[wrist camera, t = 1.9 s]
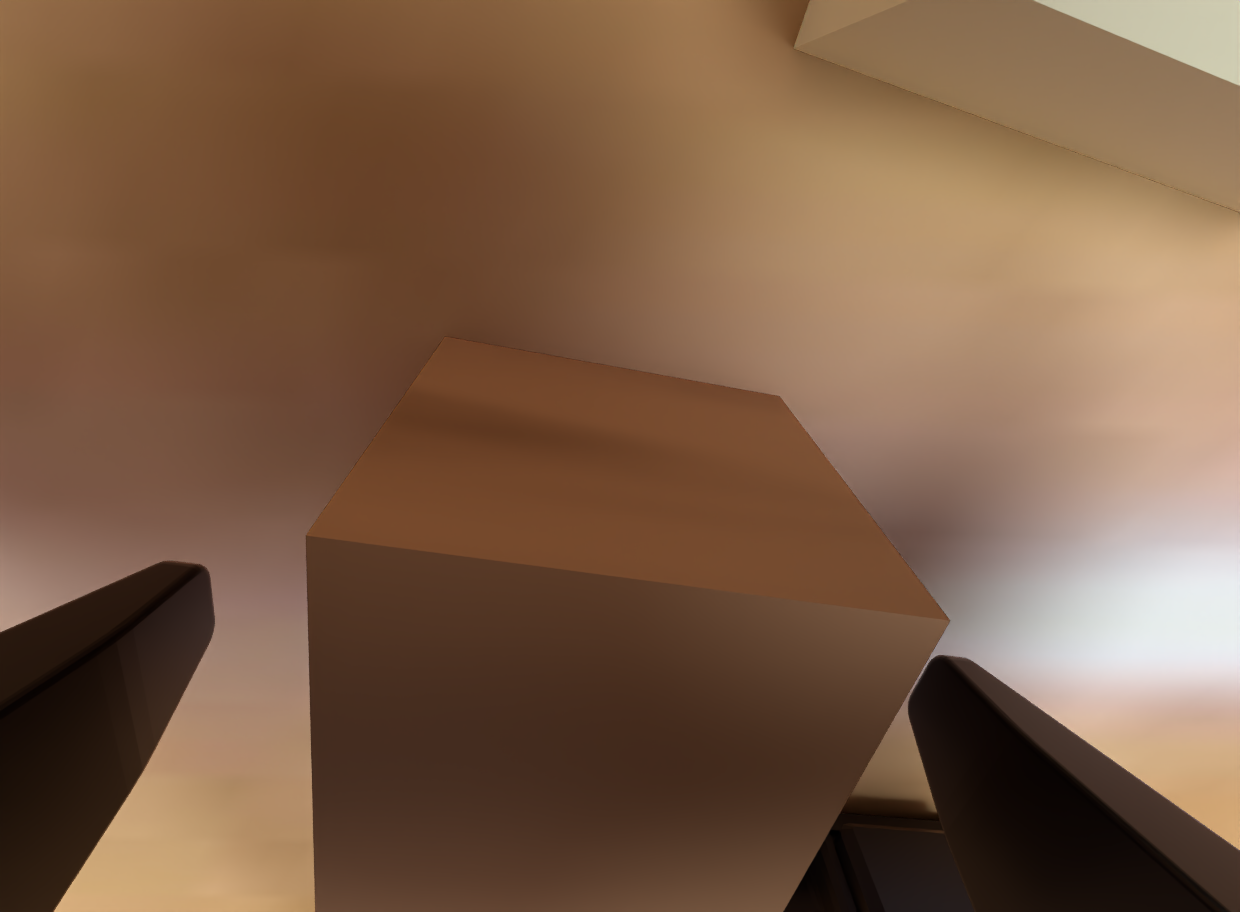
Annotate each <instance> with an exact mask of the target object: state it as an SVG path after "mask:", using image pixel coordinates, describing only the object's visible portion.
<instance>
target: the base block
mask: <svg viewBox="0 0 1240 912" xmlns="http://www.w3.org/2000/svg"><path fill="white" fill-rule="evenodd" d="M793 49H796V50H799V51H801V52H804V53H807V54H810V55H812V56H815V57H818V58H820V59H823V60H826V61H829V62H831V63H834V64H837V65H840V66H842V67H845V68H848V69H850V70H853V71H856V72H859V73H861V74H864V75H867V76H869V77H872V78H875V79H878V80H880V81H883V82H886V83H889V84H891V85H894V86H897V87H899V88H902V89H905V90H908V91H910V92H913V93H916V94H918V95H921V96H924V97H927V98H929V99H932V100H935V101H938V102H940V103H943V104H946V105H948V106H951V107H954V108H957V109H959V110H962V111H965V112H967V113H970V114H973V115H976V116H978V117H981V118H984V119H987V120H989V121H992V122H995V123H997V124H1000V125H1003V126H1006V127H1008V128H1011V129H1014V130H1016V131H1019V132H1022V133H1025V134H1027V135H1030V136H1033V137H1036V138H1038V139H1041V140H1044V141H1046V142H1049V143H1052V144H1055V145H1057V146H1060V147H1063V148H1065V149H1068V150H1071V151H1074V152H1076V153H1079V154H1082V155H1085V156H1087V157H1090V158H1093V159H1095V160H1098V161H1101V162H1104V163H1106V164H1109V165H1112V166H1115V167H1117V168H1120V169H1123V170H1125V171H1128V172H1131V173H1134V174H1136V175H1139V176H1142V177H1144V178H1147V179H1150V180H1153V181H1155V182H1158V183H1161V184H1164V185H1166V186H1169V187H1172V188H1174V189H1177V190H1180V191H1183V192H1185V193H1188V194H1191V195H1193V196H1196V197H1199V198H1202V199H1204V200H1207V201H1210V202H1213V203H1215V204H1218V205H1221V206H1223V207H1226V208H1229V209H1232V210H1234V211H1237V212H1240V0H810V1H809V4H808V7H807V10H806V13H805V16H804V19H803V21H802V24H801V27H800V30H799V33H798V36H797V39H796V42H795V45H794V48H793Z"/></svg>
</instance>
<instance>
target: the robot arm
mask: <svg viewBox="0 0 1240 912" xmlns="http://www.w3.org/2000/svg"><path fill="white" fill-rule="evenodd" d="M214 626H215V616H214V607H213V598H212V589H211V580H210V574H209V571H208V570H207V568H206V567H205V566H203V565H200V564H194V563H186V562H178V561H163V562H160V563H157V564H155V565H153V566H150V567H148V568H146V569H143V570H141V571H139V572H137V573H134V574H132V575H130V576H128V577H125V578H123V579H121V580H118V581H116V582H114V583H112V584H109V585H107V586H105V587H103V588H100V589H98V590H96V591H93V592H91V593H89V594H87V595H84V596H82V597H80V598H77V599H75V600H73V601H71V602H68V603H66V604H64V605H62V606H59V607H57V608H55V609H52V610H50V611H48V612H46V613H43V614H41V615H39V616H37V617H34V618H32V619H30V620H27V621H25V622H23V623H21V624H18V625H16V626H14V627H12V628H9V629H7V630H5V631H2V632H0V912H54V910H55V909H56V907H57V905H58V904H59V902H60V901H61V899H62V898H63V896H64V895H65V893H66V891H67V890H68V888H69V887H70V885H71V884H72V882H73V881H74V879H75V878H76V876H77V874H78V873H79V871H80V870H81V868H82V867H83V865H84V864H85V862H86V860H87V859H88V857H89V856H90V854H91V853H92V851H93V850H94V848H95V847H96V845H97V843H98V842H99V840H100V839H101V837H102V836H103V834H104V833H105V831H106V829H107V828H108V826H109V825H110V823H111V822H112V820H113V819H114V817H115V816H116V814H117V812H118V811H119V809H120V808H121V806H122V805H123V803H124V802H125V800H126V798H127V797H128V795H129V794H130V792H131V791H132V789H133V787H134V786H135V784H136V782H137V781H138V779H139V777H140V776H141V774H142V773H143V771H144V769H145V767H146V765H147V764H148V762H149V760H150V758H151V756H152V754H153V752H154V751H155V749H156V747H157V745H158V743H159V741H160V739H161V737H162V735H163V733H164V731H165V729H166V727H167V725H168V723H169V721H170V719H171V717H172V715H173V713H174V711H175V710H176V708H177V706H178V704H179V702H180V700H181V698H182V696H183V694H184V692H185V690H186V688H187V686H188V684H189V682H190V680H191V678H192V676H193V674H194V672H195V670H196V668H197V666H198V664H199V662H200V660H201V658H202V657H203V655H204V653H205V651H206V649H207V647H208V645H209V643H210V640H211V638H212V635H213V631H214ZM908 715H909V719H910V723H911V726H912V730H913V733H914V736H915V740H916V743H917V746H918V750H919V753H920V756H921V760H922V763H923V766H924V770H925V773H926V776H927V780H928V783H929V786H930V790H931V793H932V796H933V800H934V803H935V807H936V810H937V813H938V816H939V819H940V821H930V820H918V819H905V818H893V817H880V816H868V815H855V814H843V813H840V814H839V815H838V817H837V819H836V821H835V822H834V824H833V826H832V828H831V829H830V831H829V833H828V835H827V836H826V838H825V840H824V842H823V843H822V845H821V847H820V849H819V850H818V852H817V854H816V856H815V857H814V859H813V861H812V862H811V864H810V866H809V868H808V869H807V871H806V873H805V875H804V876H803V878H802V880H801V882H800V883H799V885H798V887H797V889H796V890H795V892H794V894H793V896H792V897H791V899H790V901H789V903H788V904H787V906H786V908H785V910H784V911H783V912H1240V850H1238V849H1237V848H1236V847H1234V846H1233V845H1231V844H1230V843H1229V842H1227V841H1226V840H1224V839H1223V838H1222V837H1220V836H1219V835H1217V834H1216V833H1214V832H1213V831H1212V830H1210V829H1209V828H1207V827H1206V826H1205V825H1203V824H1202V823H1200V822H1199V821H1198V820H1196V819H1195V818H1193V817H1192V816H1190V815H1189V814H1188V813H1186V812H1185V811H1183V810H1182V809H1181V808H1179V807H1178V806H1176V805H1175V804H1174V803H1172V802H1171V801H1169V800H1168V799H1166V798H1165V797H1164V796H1162V795H1161V794H1159V793H1158V792H1157V791H1155V790H1154V789H1152V788H1151V787H1150V786H1148V785H1147V784H1145V783H1144V782H1142V781H1141V780H1140V779H1138V778H1137V777H1135V776H1134V775H1133V774H1131V773H1130V772H1128V771H1127V770H1126V769H1124V768H1123V767H1121V766H1120V765H1118V764H1117V763H1116V762H1114V761H1113V760H1111V759H1110V758H1109V757H1107V756H1106V755H1104V754H1103V753H1102V752H1100V751H1099V750H1097V749H1096V748H1094V747H1093V746H1092V745H1090V744H1089V743H1087V742H1086V741H1085V740H1083V739H1082V738H1080V737H1079V736H1078V735H1076V734H1075V733H1073V732H1072V731H1070V730H1069V729H1068V728H1066V727H1065V726H1063V725H1062V724H1061V723H1059V722H1058V721H1056V720H1055V719H1054V718H1052V717H1051V716H1049V715H1048V714H1046V713H1045V712H1044V711H1042V710H1041V709H1039V708H1038V707H1037V706H1035V705H1034V704H1032V703H1031V702H1030V701H1028V700H1027V699H1025V698H1024V697H1022V696H1021V695H1020V694H1018V693H1017V692H1015V691H1014V690H1013V689H1011V688H1010V687H1008V686H1007V685H1006V684H1004V683H1003V682H1001V681H1000V680H998V679H997V678H996V677H994V676H993V675H991V674H990V673H989V672H987V671H986V670H984V669H983V668H982V667H980V666H979V665H977V664H976V663H974V662H973V661H971V660H969V659H967V658H963V657H955V656H947V655H938V656H936V657H934V658H933V659H931V661H930V662H929V664H928V665H927V667H926V669H925V671H924V672H923V674H922V676H921V678H920V679H919V681H918V683H917V685H916V686H915V688H914V690H913V692H912V693H911V695H910V698H909V701H908Z"/></svg>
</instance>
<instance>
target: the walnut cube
mask: <svg viewBox="0 0 1240 912" xmlns="http://www.w3.org/2000/svg"><path fill="white" fill-rule="evenodd" d="M306 561H307V601H308V641H309V680H310V720H311V759H312V799H313V839H314V878H315V912H783V911H784V910H785V908H786V906H787V904H788V903H789V901H790V899H791V897H792V896H793V894H794V892H795V890H796V889H797V887H798V885H799V883H800V882H801V880H802V878H803V876H804V875H805V873H806V871H807V869H808V868H809V866H810V864H811V862H812V861H813V859H814V857H815V856H816V854H817V852H818V850H819V849H820V847H821V845H822V843H823V842H824V840H825V838H826V836H827V835H828V833H829V831H830V829H831V828H832V826H833V824H834V822H835V821H836V819H837V817H838V815H839V814H840V812H841V810H842V808H843V807H844V805H845V803H846V801H847V800H848V798H849V796H850V794H851V793H852V791H853V789H854V788H855V786H856V784H857V782H858V781H859V779H860V777H861V775H862V774H863V772H864V770H865V768H866V767H867V765H868V763H869V761H870V760H871V758H872V756H873V754H874V753H875V751H876V749H877V747H878V746H879V744H880V742H881V740H882V739H883V737H884V735H885V733H886V732H887V730H888V728H889V727H890V725H891V723H892V721H893V720H894V718H895V716H896V714H897V713H898V711H899V709H900V707H901V706H902V704H903V702H904V700H905V699H906V697H907V695H908V693H909V692H910V690H911V688H912V686H913V685H914V683H915V681H916V679H917V678H918V676H919V674H920V672H921V671H922V669H923V667H924V666H925V664H926V662H927V660H928V659H929V657H930V655H931V653H932V652H933V650H934V648H935V646H936V645H937V643H938V641H939V639H940V638H941V636H942V634H943V632H944V631H945V629H946V627H947V625H948V624H949V622H950V620H949V618H948V617H947V616H946V614H945V613H944V612H943V611H942V609H941V608H940V607H939V605H938V604H937V603H936V601H935V600H934V599H933V597H932V596H931V595H930V593H929V592H928V591H927V590H926V588H925V587H924V586H923V584H922V583H921V582H920V580H919V579H918V578H917V576H916V575H915V574H914V572H913V571H912V570H911V569H910V567H909V566H908V565H907V563H906V562H905V561H904V559H903V558H902V557H901V555H900V554H899V553H898V551H897V550H896V549H895V547H894V546H893V545H892V544H891V542H890V541H889V540H888V538H887V537H886V536H885V534H884V533H883V532H882V530H881V529H880V528H879V526H878V525H877V524H876V523H875V521H874V520H873V519H872V517H871V516H870V515H869V513H868V512H867V511H866V509H865V508H864V507H863V505H862V504H861V503H860V502H859V500H858V499H857V498H856V496H855V495H854V494H853V492H852V491H851V490H850V488H849V487H848V486H847V484H846V483H845V482H844V481H843V479H842V478H841V477H840V475H839V474H838V473H837V471H836V470H835V469H834V467H833V466H832V465H831V463H830V462H829V461H828V460H827V458H826V457H825V456H824V454H823V453H822V452H821V450H820V449H819V448H818V446H817V445H816V444H815V442H814V441H813V440H812V438H811V437H810V436H809V435H808V433H807V432H806V431H805V429H804V428H803V427H802V425H801V424H800V423H799V421H798V420H797V419H796V417H795V416H794V415H793V414H792V412H791V411H790V410H789V408H788V407H787V406H786V404H785V403H784V402H783V400H782V399H781V398H780V396H775V395H769V394H764V393H758V392H752V391H747V390H741V389H736V388H730V387H725V386H719V385H713V384H708V383H702V382H697V381H691V380H686V379H680V378H674V377H669V376H663V375H658V374H652V373H646V372H641V371H635V370H630V369H624V368H619V367H613V366H607V365H602V364H596V363H591V362H585V361H580V360H574V359H568V358H563V357H557V356H552V355H546V354H541V353H535V352H529V351H524V350H518V349H513V348H507V347H502V346H496V345H490V344H485V343H479V342H474V341H468V340H462V339H457V338H451V337H446V336H445V337H444V339H443V340H442V342H441V343H440V345H439V346H438V347H437V349H436V350H435V352H434V353H433V355H432V356H431V357H430V359H429V360H428V362H427V363H426V365H425V366H424V367H423V369H422V370H421V372H420V373H419V375H418V376H417V377H416V379H415V380H414V382H413V383H412V385H411V386H410V387H409V389H408V390H407V392H406V393H405V395H404V396H403V397H402V399H401V400H400V402H399V403H398V405H397V406H396V407H395V409H394V410H393V412H392V413H391V415H390V416H389V417H388V419H387V420H386V422H385V423H384V425H383V426H382V427H381V429H380V430H379V432H378V433H377V435H376V436H375V437H374V439H373V440H372V442H371V443H370V445H369V446H368V447H367V449H366V450H365V452H364V453H363V455H362V456H361V457H360V459H359V460H358V462H357V463H356V465H355V466H354V467H353V469H352V470H351V472H350V473H349V475H348V476H347V477H346V479H345V480H344V482H343V483H342V485H341V486H340V487H339V489H338V490H337V492H336V493H335V495H334V496H333V497H332V499H331V500H330V502H329V503H328V505H327V506H326V507H325V509H324V510H323V512H322V513H321V515H320V516H319V517H318V519H317V520H316V522H315V523H314V525H313V526H312V527H311V529H310V530H309V532H308V533H307V535H306Z"/></svg>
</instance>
